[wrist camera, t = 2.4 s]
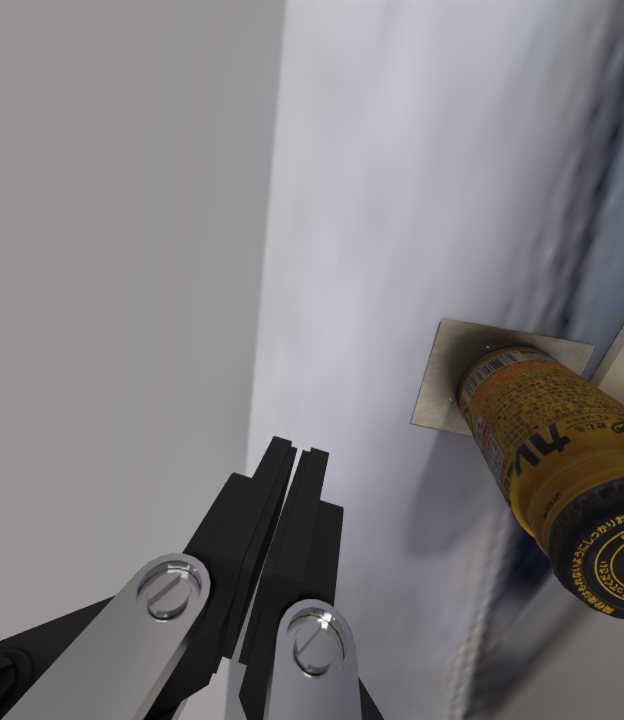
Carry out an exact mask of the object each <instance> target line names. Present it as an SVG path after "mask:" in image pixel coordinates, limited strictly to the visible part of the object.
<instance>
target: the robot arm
mask: <svg viewBox="0 0 624 720" xmlns="http://www.w3.org/2000/svg"><path fill="white" fill-rule="evenodd" d="M291 444H292V441H289V440H286V439H283V438H280V437H276V436H274V437H273V439H272V441H271V443H270V445H269V446H268V448H267V450H266V452H265V454H264V456H263V458H262V460H261V462H260V464H259V466H258V468H257V470H256V471H255V473H254V475H253V477H252V478H250V477H247V476H244V475H240V474H237V473H232V474H231V476H230V477H229V479H228V481H227V482H226V483H225V485H224V487H223V488H222V490H221V492H220V493H219V495H218V496H217V498H216V500H215V501H214V503H213V504H212V506H211V508H210V509H209V511H208V513H207V514H206V516H205V518H204V519H203V521H202V522H201V524H200V525H199V527H198V529H197V530H196V532H195V533H194V535H193V537H192V538H191V540H190V542H189V543H188V545H187V546H186V548H185V550H184V551H183V553H182V554H178V553H172V554H168V555H163V556H160V557H158V558H156V559H154V560H152V561H150V562H148V563H147V564H146V565H145V566H144V567H143V568H141V569H140V570H139V571H138V572H137V573H136V574H135V575H134V576H133V578H132V579H131V580H130V581H129V582H128V583H127V584H126V585H125V586H124V588H122V589H121V590H120V592H119V593H118V594H117V595H115V596H113V597H110V598H108V599H105V600H103V601H100V602H98V603H95V604H93V605H90V606H88V607H85V608H83V609H80V610H77V611H75V612H72V613H70V614H67V615H65V616H62V617H60V618H57V619H55V620H52V621H50V622H47V623H44V624H42V625H39V626H37V627H35V628H32V629H29V630H27V631H24V632H22V633H19V634H17V635H14V636H11V637H9V638H7V639H4V640H1V641H0V720H178V718H179V716H180V714H181V712H182V710H183V709H184V707H185V705H186V702H187V700H188V697H189V696H191V695H192V694H194V693H196V692H198V691H199V690H201V689H202V688H204V687H205V686H207V685H209V682H210V679H211V676H212V674H213V673H215V674H216V673H217V670H218V667H219V664H220V662H221V659H222V656H223V657H225V658H228V659H231V658H232V655H233V653H234V650H235V647H236V644H237V641H238V638H239V635H240V632H241V629H242V626H243V623H244V620H245V617H246V614H247V612H248V609H249V606H250V603H251V600H252V597H253V594H254V591H255V588H256V585H257V582H258V579H259V576H260V573H261V570H262V568H263V571H262V574H261V578H260V582H259V585H258V589H257V593H256V597H255V601H254V604H253V608H252V612H251V616H250V620H249V623H248V627H247V631H246V635H245V639H244V642H243V646H242V650H241V654H240V658H239V663H242V664H245V665H247V668H246V671H245V675H244V679H243V682H242V686H241V689H240V693H239V698H240V701H241V704H242V707H243V710H244V712H245V715H246V718H247V720H384V718H383V717H382V715H381V713H380V712H379V710H378V708H377V707H376V705H375V703H374V702H373V700H372V698H371V697H370V695H369V693H368V692H367V690H366V688H365V687H364V685H363V683H362V682H361V680H360V678H359V677H358V669H357V657H356V647H355V642H354V637H353V633H352V631H351V629H350V627H349V625H348V623H347V621H346V620H345V618H344V617H343V616H342V615H341V614H340V612H339V611H338V610H337V609H335V608H334V598H335V589H336V579H337V569H338V560H339V550H340V541H341V531H342V522H343V511H344V509H343V507H340V506H337V505H334V504H331V503H328V502H325V501H321V500H320V496H321V491H322V486H323V481H324V476H325V471H326V466H327V462H328V457H329V453H328V452H325V451H322V450H319V449H315V448H312V447H311V451H310V452H308V451H305V450H303V451H302V454H301V457H300V460H299V463H298V466H297V469H296V472H295V475H294V478H293V481H292V484H291V487H290V490H289V493H288V496H287V499H286V502H285V505H284V508H283V510H282V513H281V516H280V512H281V509H282V505H283V501H284V497H285V494H286V490H287V486H288V482H289V479H290V475H291V471H292V467H293V464H294V460H295V456H296V452H297V448H295V447H292V446H291ZM279 516H280V519H279ZM278 520H279V522H278ZM277 523H278V525H277ZM276 526H277V528H276ZM275 529H276V531H275ZM274 532H275V534H274ZM273 535H274V537H273ZM272 538H273V540H272ZM271 541H272V543H271ZM270 544H271V546H270ZM269 547H270V549H269ZM268 550H269V552H268ZM267 553H268V555H267ZM266 556H267V558H266ZM265 559H266V561H265ZM264 562H265V564H264ZM263 565H264V567H263Z"/></svg>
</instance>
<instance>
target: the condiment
mask: <svg viewBox="0 0 624 720" xmlns="http://www.w3.org/2000/svg"><path fill="white" fill-rule="evenodd" d="M486 346H489V349H488V348H486ZM595 346H596V345H591V344H585V343H580V342H575V341H569V340H564V339H558V338H552V337H548V336H542V335H537V334H530V333H525V332H519V331H513V330H506V329H500V328H496V327H490V326H485V325H479V324H474V323H467V322H461V321H455V320H450V319H445V318H442V321H441V324H440V327H439V331H438V333H437V336H436V340H435V343H434V346H433V349H432V353H431V356H430V359H429V362H428V366H427V369H426V373H425V376H424V379H423V382H422V386H421V390H420V394H419V397H418V400H417V403H416V407H415V411H414V414H413V418H412V421H411V423H413V424H418V425H421V426H425V427H432V428H436V429H439V430H444V431H450V432H454V433H457V434H464V435H468V436H473V437H474V439H475V441H476V443H477V445H478V446H479V448H480V450H481V452H482V454H483V456H484V458H485V460H486V462H487V464H488V466H489V468H490V470H491V472H492V474H493V476H494V478H495V480H496V483H497V484H498V486H499V488H500V490H501V492H502V494H503V496H504V498H505V500H506V502H507V503H508V506H509V508H510V509H511V511H512V513H513V515H514V517H515V518H516V520H517V521H518V523H519V524H520V525H521V526H522V527H523V528H524V529H525V530H526V531H527V532H528V533H529V534H530V535H531V536H533V537H534V538H535V540H536V542H537V544H538V545H539V547H540V548H541V550H542V551H543V552H544V553H545V554H546V555H547V557H549V560H550V563H551V566H552V567H553V569H554V574H555V576H556V577H557V578H558V580H559V581H560V583H561V584H562V585H563V586H564V588H566V589H567V590H568V591H570V592H571V593H572V594H574V595H575V596H576V597H577V598H579V599H580V600H581V601H583V602H584V603H586V604H587V605H588V606H589V607H590V608H592V609H594V610H596V611H599V612H602V613H604V614H607V615H610V616H612V617H615V618H620V619H624V405H623V404H621V403H620V402H618V401H617V400H615V399H614V398H612V397H611V396H609V395H608V394H606V393H605V392H603V391H602V390H600V389H599V388H597V387H596V386H594V385H593V384H591V383H590V382H588V381H587V380H585V379H584V378H582V377H581V375H582V373H583V371H584V370H585V367H586V365H587V363H588V361H589V359H590V357H591V355H592V353H593V351H594V348H595ZM449 397H450V398H451V399H452V400H453V402H450V401H449ZM453 403H456V406H454V404H453Z"/></svg>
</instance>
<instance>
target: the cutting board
mask: <svg viewBox="0 0 624 720" xmlns="http://www.w3.org/2000/svg"><path fill="white" fill-rule="evenodd" d="M590 383H591V384H593V385H594V386H596V387H597V388H599V389H600V390H602V391H603V392H605V393H606V394H608V395H609V396H611V397H612V398H614V399H615V400H617V401H618V402H620V403H621V404H623V405H624V326H623V327H622V329H621V331H620V332H619V334H618V335H617V337H616V339H615V340H614V342H613V344H612V345H611V347H610V349H609V350H608V352H607V354H606V355H605V357H604V359H603V360H602V362H601V364H600V365H599V367H598V368H597V370H596V372H595V373H594V375H593V377H592V378H591V380H590Z"/></svg>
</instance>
